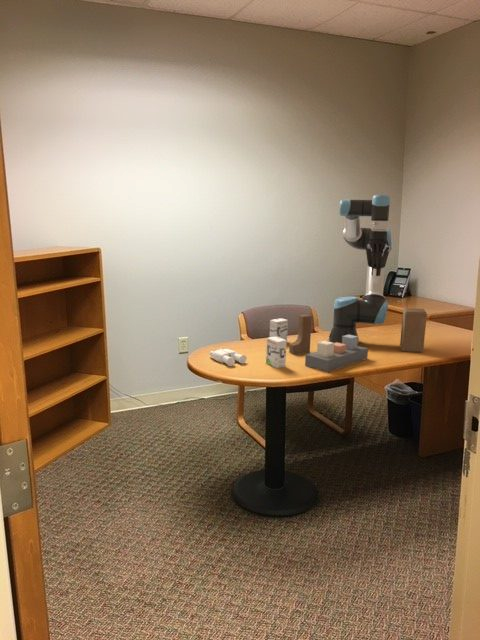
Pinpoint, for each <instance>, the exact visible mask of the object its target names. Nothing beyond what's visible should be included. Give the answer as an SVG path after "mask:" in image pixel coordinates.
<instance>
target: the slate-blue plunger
mask: <svg viewBox="0 0 480 640" xmlns="http://www.w3.org/2000/svg"><path fill="white" fill-rule="evenodd" d="M358 338H359V335H358V336H354V335H345V336H342V344H346V349H347V350H354V349H357V346H358V344H359V341H358ZM357 343H358V344H357Z"/></svg>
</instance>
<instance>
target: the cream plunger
mask: <svg viewBox="0 0 480 640" xmlns="http://www.w3.org/2000/svg"><path fill="white" fill-rule="evenodd" d="M316 349H317V350H316V351H317V355H318V356H322V357H326V358H327V357H330V356H333V353H334V343H332V342H329V340H328V341H327V340H322V341H319V342H317V347H316Z"/></svg>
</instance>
